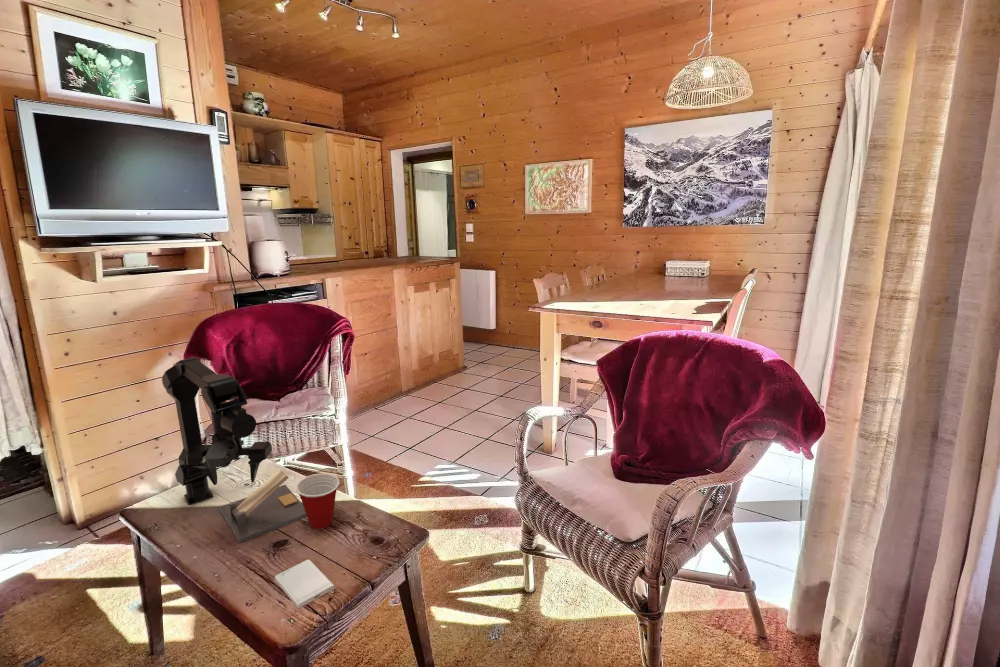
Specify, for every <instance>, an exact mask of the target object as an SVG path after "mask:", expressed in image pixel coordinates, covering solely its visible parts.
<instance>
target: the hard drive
mask: <svg viewBox="0 0 1000 667" xmlns="http://www.w3.org/2000/svg"><path fill="white" fill-rule="evenodd" d="M274 580H275V582H276V583H277V584H278V586H279V587H280V589H282V591H283V592H284V593H285V595H286V596H288V598H289V599H290V600H291V602H292V603H293V604H294V605H295V606H296V607H297V608H298V609H301V608H302V607H305V606H306V605H308V604H310V603H311V602H313V601H315V600H317V599H318V598H320V597H323V596H324V595H326V594H328V593H329V592H331V591H333V590H335V589H336V587H335V585H334V583H333V582H331V580H330V579H329V578H328V577H327V576H326V575H325V574H324V573H323V572H322V571H321V570H320V569H319V567H317V566H316V565H315V564H314V562H312V561H311V559H306V560H303V561H301V562H300V563H298V564H296V565H294V566H292V567H290V568H288V569H286V570H284V571H283V572H279V573H278V574H276V575H275V576H274Z"/></svg>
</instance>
